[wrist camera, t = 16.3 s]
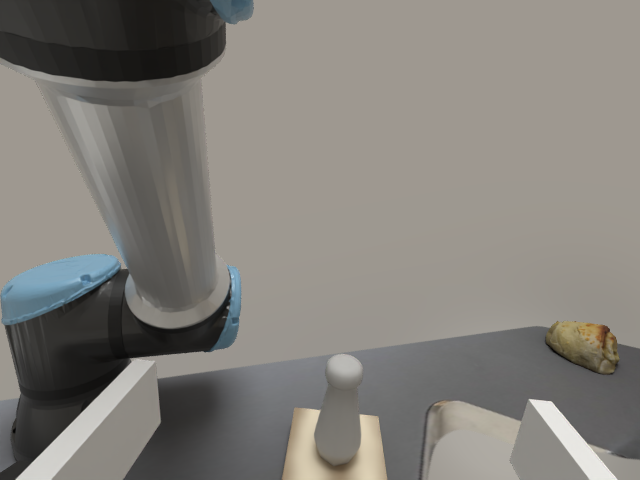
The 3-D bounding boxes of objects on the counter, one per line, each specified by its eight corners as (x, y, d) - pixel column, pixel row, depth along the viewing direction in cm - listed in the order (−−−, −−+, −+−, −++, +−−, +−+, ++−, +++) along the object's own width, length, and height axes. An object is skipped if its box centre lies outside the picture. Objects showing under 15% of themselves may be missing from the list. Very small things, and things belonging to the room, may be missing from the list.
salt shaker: (343, 424, 43) (352, 342, 40) (368, 461, 38) (381, 370, 35) (305, 440, 40) (311, 353, 37) (326, 481, 36) (336, 385, 32)
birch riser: (278, 514, 35) (279, 494, 34) (293, 424, 46) (294, 407, 45) (387, 527, 34) (391, 507, 33) (375, 433, 46) (378, 416, 45)
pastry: (632, 382, 61) (646, 347, 59) (557, 365, 65) (568, 331, 63) (597, 343, 74) (608, 313, 72) (536, 330, 78) (545, 301, 76)
